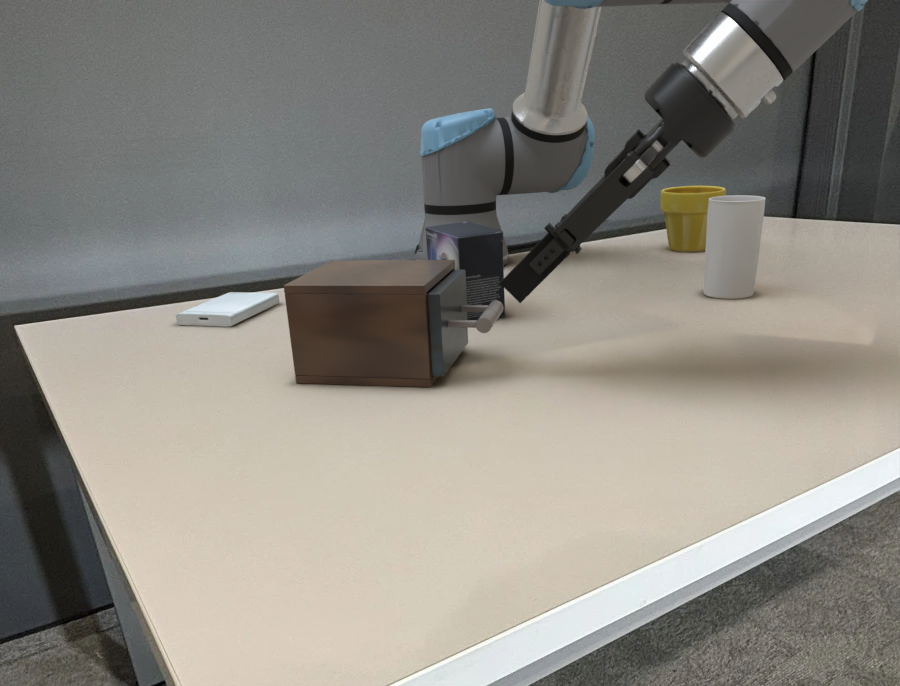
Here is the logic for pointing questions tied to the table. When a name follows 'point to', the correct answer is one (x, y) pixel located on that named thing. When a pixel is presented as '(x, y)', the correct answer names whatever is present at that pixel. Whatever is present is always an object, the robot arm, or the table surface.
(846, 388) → the table surface
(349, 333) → the cabinet
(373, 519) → the table surface
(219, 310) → the hard drive
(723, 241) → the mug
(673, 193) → the flower pot
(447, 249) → the small box
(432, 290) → the drawer
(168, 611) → the table surface
